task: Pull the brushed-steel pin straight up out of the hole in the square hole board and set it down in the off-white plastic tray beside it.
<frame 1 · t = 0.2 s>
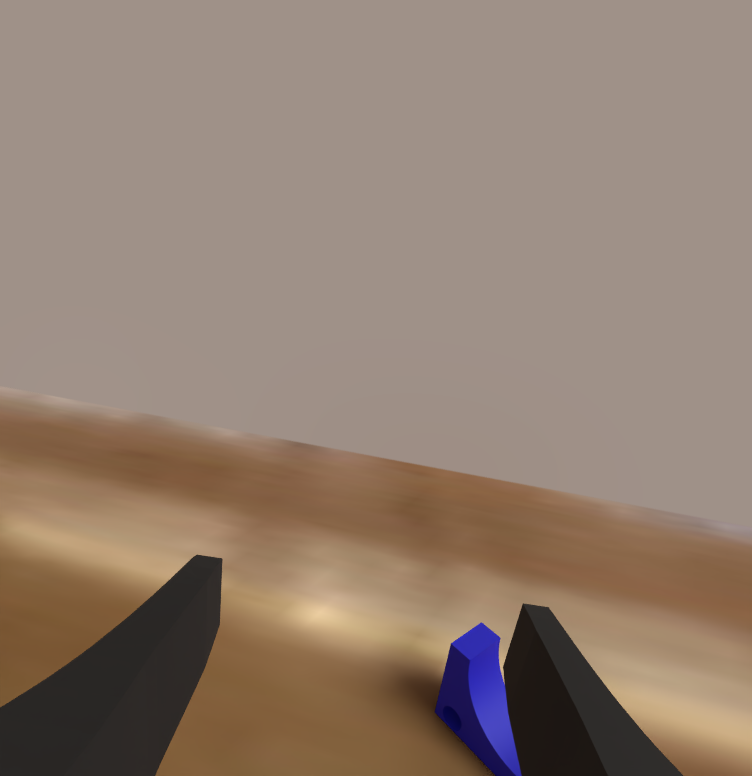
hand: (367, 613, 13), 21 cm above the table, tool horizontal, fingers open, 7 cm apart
cable clip: (531, 772, 32), on the table
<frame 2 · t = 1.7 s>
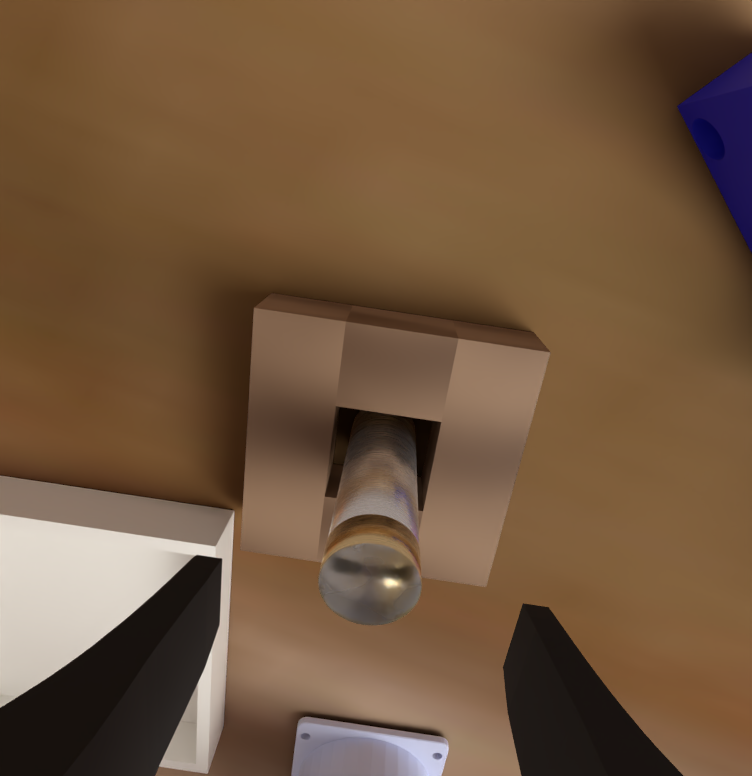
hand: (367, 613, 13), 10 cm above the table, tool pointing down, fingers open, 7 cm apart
tray: (88, 607, 26), on the table
steel pin: (383, 430, 22), resting in square hole board
square hole board: (383, 430, 22), on the table
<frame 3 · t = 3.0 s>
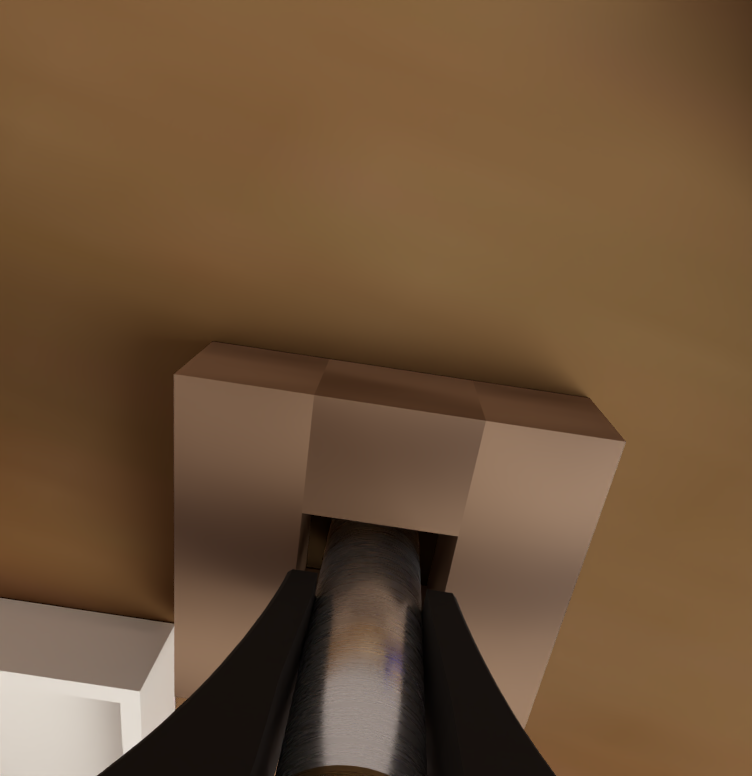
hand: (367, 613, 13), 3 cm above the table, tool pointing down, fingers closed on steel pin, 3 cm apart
steel pin: (374, 526, 16), resting in square hole board, touching gripper
square hole board: (374, 526, 16), on the table
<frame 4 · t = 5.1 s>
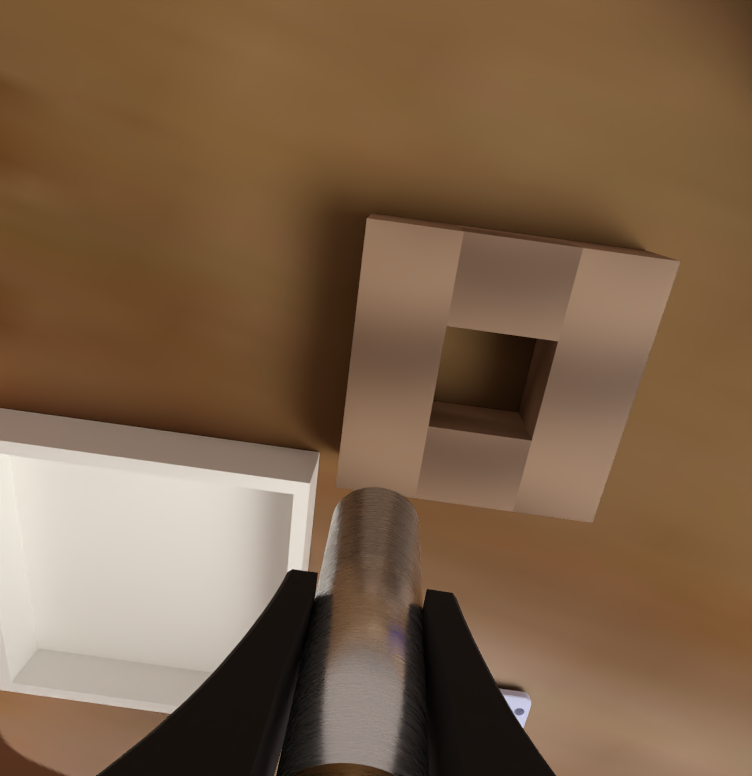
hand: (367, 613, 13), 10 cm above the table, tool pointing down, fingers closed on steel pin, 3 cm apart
tray: (162, 560, 26), on the table
steel pin: (375, 524, 16), point 7 cm above the table, touching gripper
square hole board: (481, 362, 21), on the table
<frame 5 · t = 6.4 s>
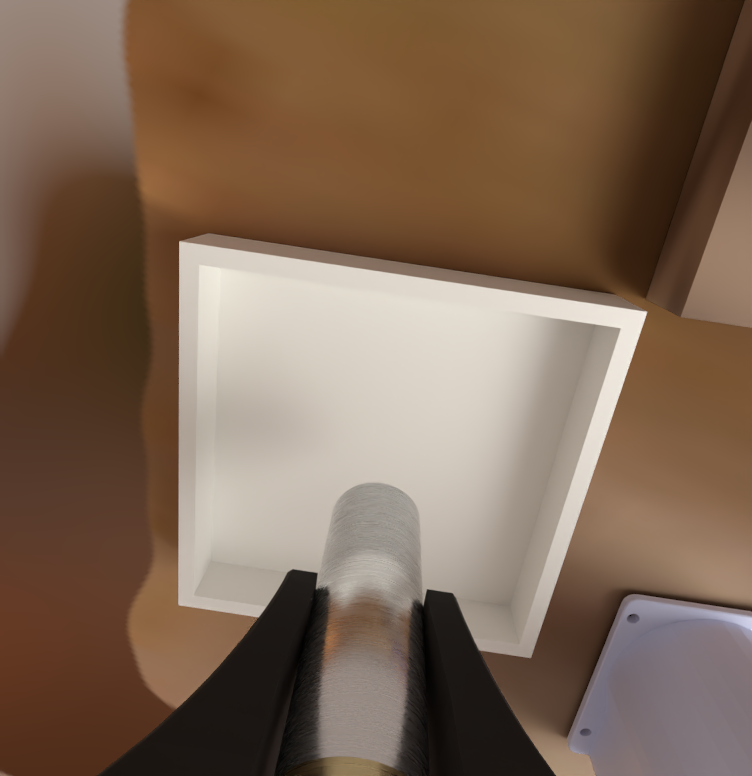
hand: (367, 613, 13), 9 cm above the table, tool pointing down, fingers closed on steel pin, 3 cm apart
tray: (382, 445, 21), on the table
steel pin: (375, 520, 16), point 5 cm above the table, touching gripper
when the fingers open (5 cm above the table, at t = 7.4 s): steel pin stays where it is, resting on tray.
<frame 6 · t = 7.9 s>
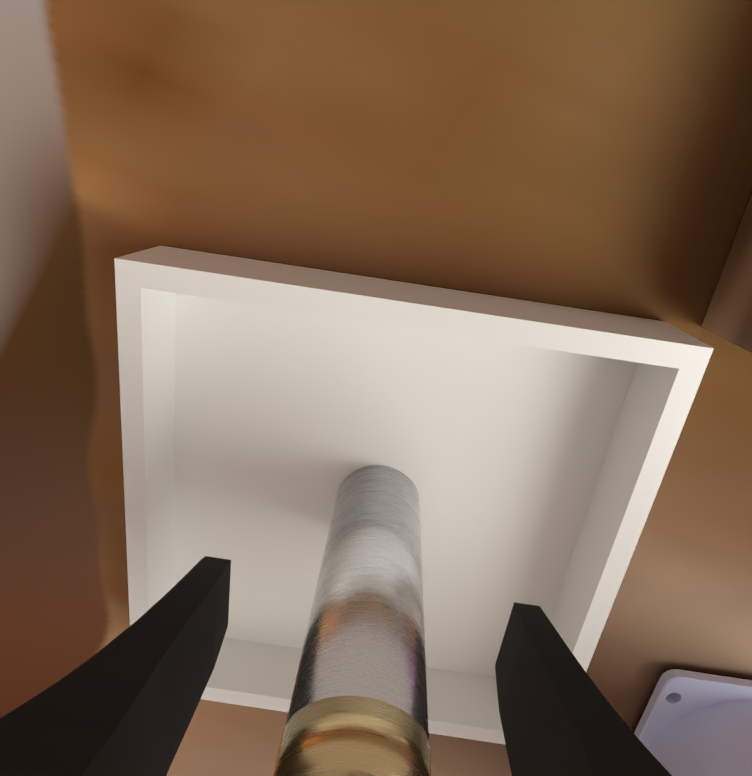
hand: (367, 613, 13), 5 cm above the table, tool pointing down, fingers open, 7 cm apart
tray: (377, 498, 17), on the table
steel pin: (377, 501, 17), point 1 cm above the table, touching tray
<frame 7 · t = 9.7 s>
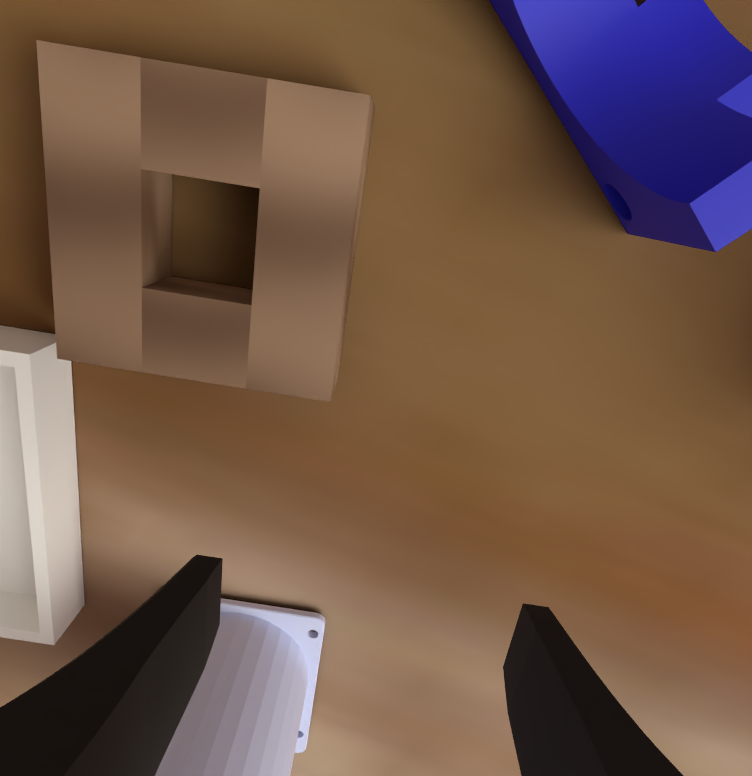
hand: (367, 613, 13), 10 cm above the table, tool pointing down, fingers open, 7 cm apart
cable clip: (596, 40, 18), on the table
square hole board: (222, 233, 20), on the table
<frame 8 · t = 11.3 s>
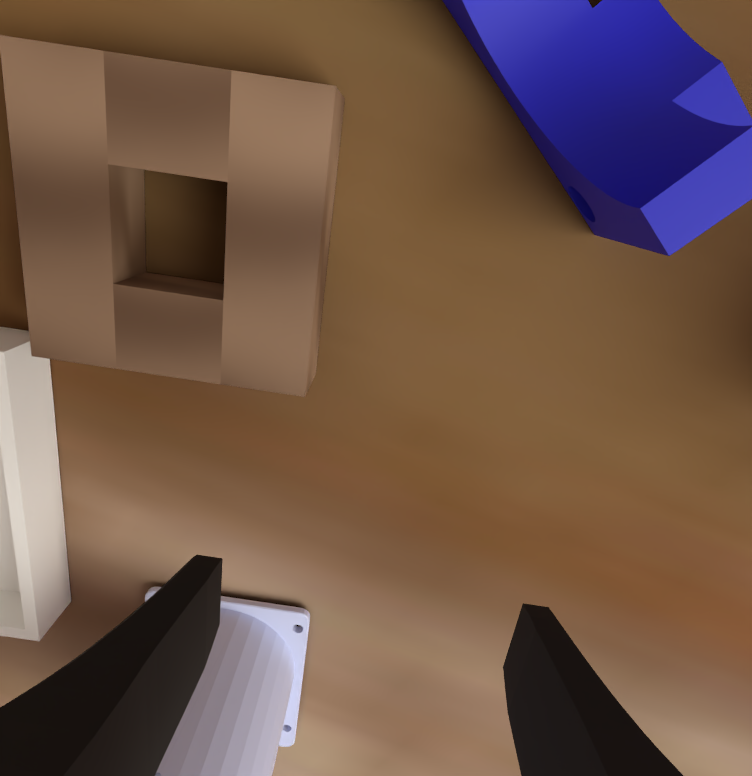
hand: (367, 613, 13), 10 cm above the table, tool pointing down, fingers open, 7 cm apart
cable clip: (555, 41, 17), on the table
square hole board: (195, 228, 20), on the table
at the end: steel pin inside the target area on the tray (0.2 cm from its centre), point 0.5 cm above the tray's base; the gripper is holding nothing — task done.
